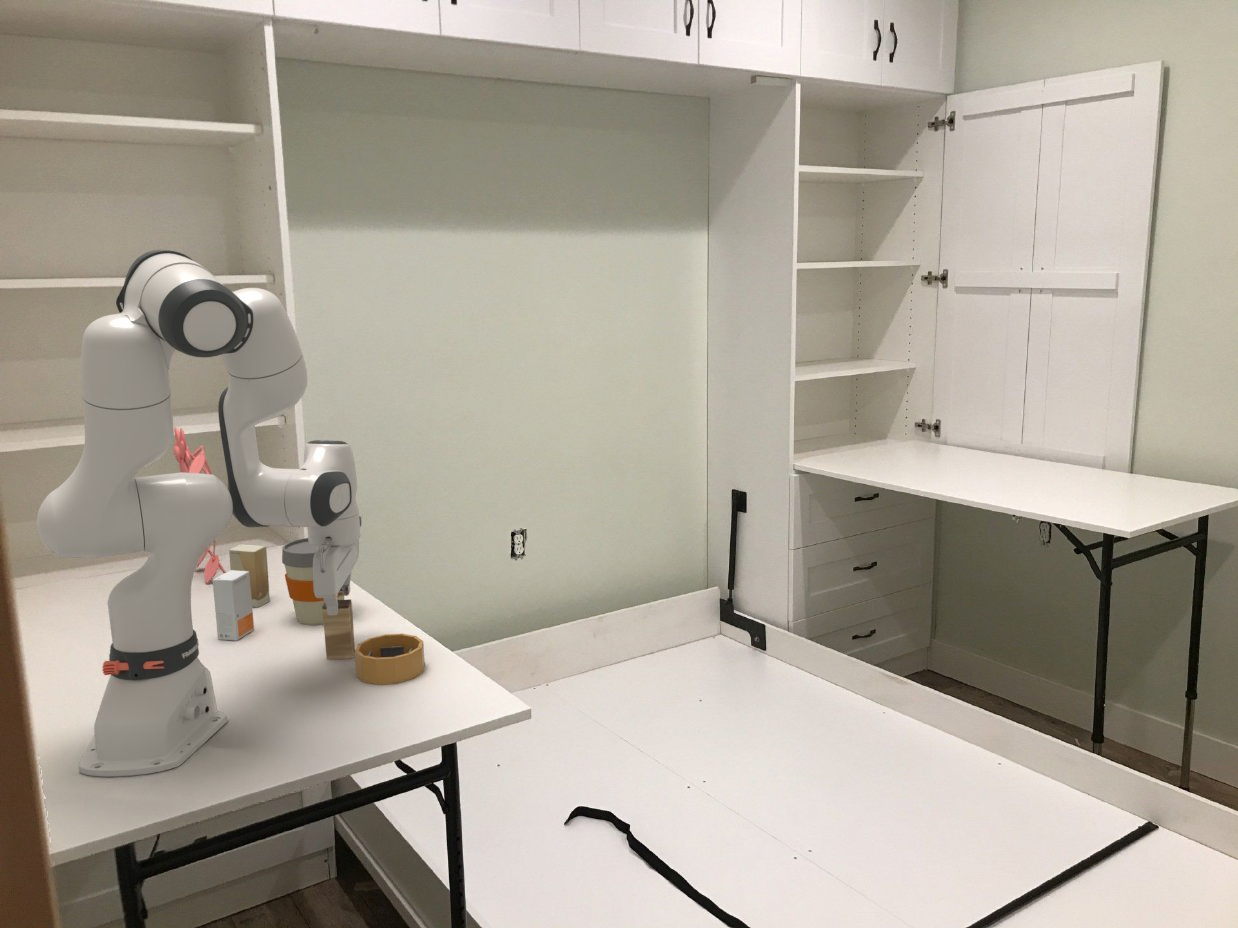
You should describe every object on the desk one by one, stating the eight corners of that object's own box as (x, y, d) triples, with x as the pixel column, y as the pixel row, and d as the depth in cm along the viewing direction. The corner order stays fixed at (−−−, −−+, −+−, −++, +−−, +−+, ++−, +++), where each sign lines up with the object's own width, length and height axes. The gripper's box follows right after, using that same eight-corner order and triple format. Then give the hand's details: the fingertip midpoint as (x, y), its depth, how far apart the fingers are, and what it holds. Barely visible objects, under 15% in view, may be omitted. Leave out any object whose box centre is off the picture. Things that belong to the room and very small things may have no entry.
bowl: (420, 682, 165) (418, 657, 164) (352, 685, 164) (350, 660, 163) (427, 656, 176) (425, 632, 175) (363, 659, 175) (361, 635, 174)
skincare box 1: (232, 605, 204) (226, 549, 201) (245, 599, 208) (239, 543, 206) (259, 607, 202) (254, 551, 200) (271, 600, 206) (266, 545, 204)
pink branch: (219, 558, 237) (201, 416, 229) (240, 587, 215) (221, 431, 208) (150, 571, 229) (128, 424, 222) (165, 602, 208) (141, 440, 200)
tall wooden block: (352, 658, 176) (348, 605, 174) (326, 659, 175) (322, 606, 173) (355, 651, 179) (351, 599, 176) (329, 652, 178) (325, 600, 176)
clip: (414, 673, 167) (413, 658, 166) (361, 676, 166) (360, 661, 166) (418, 658, 173) (417, 643, 173) (368, 660, 173) (367, 646, 172)
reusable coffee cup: (329, 601, 205) (324, 532, 202) (365, 614, 197) (359, 542, 194) (275, 618, 196) (268, 546, 193) (310, 632, 188) (303, 557, 185)
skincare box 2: (237, 641, 184) (231, 580, 182) (217, 639, 185) (211, 579, 183) (255, 629, 190) (250, 570, 188) (236, 628, 191) (230, 569, 189)
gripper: (339, 547, 162) (345, 625, 165) (363, 513, 182) (367, 583, 185) (300, 548, 162) (306, 626, 165) (328, 514, 181) (333, 584, 185)
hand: (339, 603), depth 175 cm, fingers open, 8 cm apart
